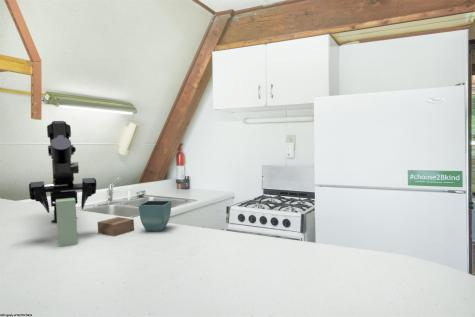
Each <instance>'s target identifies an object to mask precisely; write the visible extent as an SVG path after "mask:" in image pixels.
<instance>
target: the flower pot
mask: <svg viewBox="0 0 475 317" xmlns="http://www.w3.org/2000/svg"><path fill="white" fill-rule="evenodd" d="M172 203H173V202H172V200H147V201H144V202H142V203H140V204H139V205H138V206H137V207H138V213H139V218H140V222H141V225H142V226H143V228H144V229H145V231H147V232H149V231H151V232H153V231H154V232H157V231H159V232H161V231H163V230H164V229H165V228H166V227H167V225H168V223H169V221H170V218H171V212H172Z"/></svg>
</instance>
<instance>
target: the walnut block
mask: <svg viewBox="0 0 475 317" xmlns="http://www.w3.org/2000/svg"><path fill="white" fill-rule="evenodd" d="M134 230H135V220H134V218H126V217H121V216H120V217H119V216H116V217H112V218H108V219H105V220H101V221H97V234H99V233H100V235H106V236H112V237H117V236H120V235H123V234H126V233H131V232H134Z"/></svg>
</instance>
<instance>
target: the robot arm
mask: <svg viewBox="0 0 475 317" xmlns="http://www.w3.org/2000/svg"><path fill="white" fill-rule="evenodd" d="M46 131H47V132H46V133H47V138H49V143H50V145H48V146H47V151H48V152H47V153H48V157H50V158H51V161H52V162H51V164H52V165H51V166H52V184H46V185H45V181H32V182H30V183H29V184H28V192H29V199H30V200H31V201H35V202H39V203H40V204H41V205H42V206H43V208H44V210H46V213H47V214H50V207H53V219H52V220H51V223H57V212H56V199H67V198H75V203H76V204H78V192H77V191H81V202H80V203H81V206H80V207H81V210H83V209H84V207H85V206H86V203H87V202H86V201H87V200H88V198H90V197H92V196H93V195H95V194H96V193H97V180H96V178H94V177H85V178H84V177H83V178H82V179H81V180H82V182H81V183H75V182H74V181H75V180H74V179H75V176H74V175H75V174H79V171H80V170H79V162H78V161H77V162H72V156H74V154H75V152H76V147H75V146H74V145H73V144H72V141H71V139H70V138H71V137H72V132H71V125H70V124H68V123H67V121H64V120H53V121H51V123H49V124H47V126H46ZM47 193H49V194H50V204H49V200H48V196H47ZM77 219H78V217H77V216H76V220H77Z"/></svg>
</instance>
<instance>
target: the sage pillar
mask: <svg viewBox="0 0 475 317" xmlns="http://www.w3.org/2000/svg"><path fill="white" fill-rule="evenodd" d="M55 203H56V212H57V222H56V226H57V227H56V228H57V241H58V243H57V244H58V247H67V246H72V245H73V246H74V245H78V244H79V242H78V241H79V240H78V226H77V225H78V224H77V219H76V217H77V209H76V208H77V206H76V203H75V198H67V199H56V202H55Z"/></svg>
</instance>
